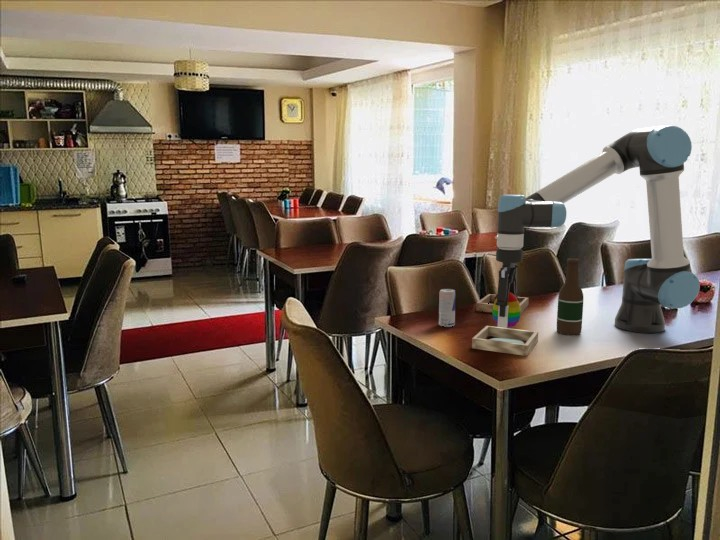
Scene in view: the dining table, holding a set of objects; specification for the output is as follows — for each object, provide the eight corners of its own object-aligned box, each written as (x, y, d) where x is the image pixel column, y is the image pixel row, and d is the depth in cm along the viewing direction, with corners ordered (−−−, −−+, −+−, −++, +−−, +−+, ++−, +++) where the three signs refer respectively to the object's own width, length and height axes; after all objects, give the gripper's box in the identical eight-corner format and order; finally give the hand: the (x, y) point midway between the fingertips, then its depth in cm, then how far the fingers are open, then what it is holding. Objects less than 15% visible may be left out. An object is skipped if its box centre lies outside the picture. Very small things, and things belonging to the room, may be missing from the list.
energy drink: (456, 324, 201) (457, 289, 199) (452, 328, 196) (453, 292, 194) (441, 322, 203) (442, 288, 201) (436, 326, 198) (437, 291, 196)
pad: (527, 342, 180) (527, 340, 180) (520, 352, 170) (520, 350, 170) (492, 337, 185) (492, 335, 185) (482, 347, 175) (482, 345, 175)
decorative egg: (488, 321, 180) (490, 288, 179) (515, 320, 181) (516, 288, 179) (495, 328, 172) (497, 294, 171) (523, 328, 173) (525, 294, 171)
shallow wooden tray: (537, 341, 181) (538, 331, 181) (527, 355, 167) (527, 345, 167) (486, 334, 188) (486, 325, 188) (471, 348, 174) (472, 338, 174)
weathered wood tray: (528, 305, 228) (528, 297, 228) (518, 315, 213) (518, 307, 212) (488, 301, 235) (488, 293, 234) (476, 310, 220) (476, 302, 219)
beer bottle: (578, 337, 185) (583, 261, 181) (553, 333, 189) (557, 259, 185) (583, 331, 192) (588, 258, 188) (559, 328, 196) (563, 256, 192)
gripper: (505, 243, 184) (501, 314, 187) (487, 251, 165) (484, 330, 169) (529, 244, 180) (526, 317, 184) (514, 253, 162) (510, 333, 166)
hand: (506, 323), depth 176 cm, fingers closed on decorative egg, 8 cm apart
